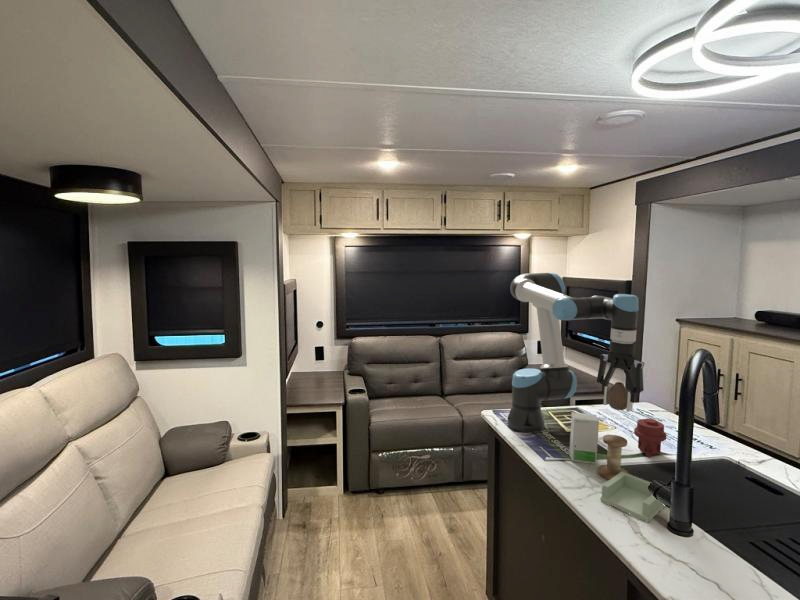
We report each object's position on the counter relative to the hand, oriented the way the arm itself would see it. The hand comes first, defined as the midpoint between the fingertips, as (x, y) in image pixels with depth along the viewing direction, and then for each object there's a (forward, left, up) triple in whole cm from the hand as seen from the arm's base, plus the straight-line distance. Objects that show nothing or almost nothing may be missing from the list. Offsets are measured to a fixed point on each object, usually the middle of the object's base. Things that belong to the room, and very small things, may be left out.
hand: (617, 407), depth 145 cm
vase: (0, 0, -1) cm, 1 cm away
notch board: (+14, -19, -20) cm, 31 cm away
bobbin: (+3, -8, -20) cm, 22 cm away
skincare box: (-9, -5, -20) cm, 23 cm away
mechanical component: (+4, +17, -20) cm, 27 cm away
